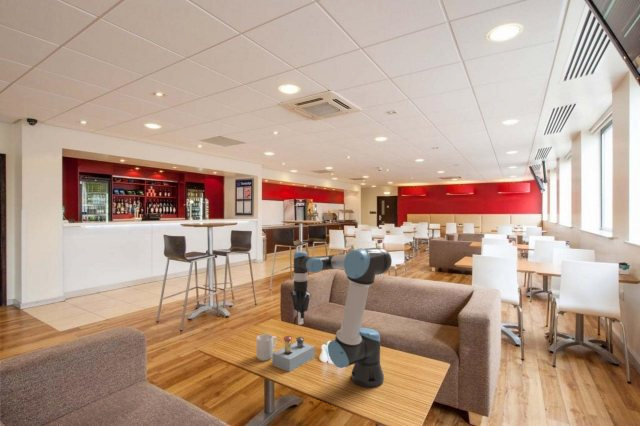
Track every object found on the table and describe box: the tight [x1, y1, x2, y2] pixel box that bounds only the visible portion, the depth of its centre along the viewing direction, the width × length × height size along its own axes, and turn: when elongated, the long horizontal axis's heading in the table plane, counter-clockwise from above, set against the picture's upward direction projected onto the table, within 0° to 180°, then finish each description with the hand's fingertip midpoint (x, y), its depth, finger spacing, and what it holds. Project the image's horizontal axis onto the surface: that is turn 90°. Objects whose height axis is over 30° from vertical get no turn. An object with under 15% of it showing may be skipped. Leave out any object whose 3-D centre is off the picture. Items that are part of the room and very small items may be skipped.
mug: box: [256, 333, 278, 362], centre depth 174 cm, size 12×9×11 cm
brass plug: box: [283, 335, 292, 355], centre depth 165 cm, size 4×4×9 cm
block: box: [271, 341, 315, 372], centre depth 169 cm, size 12×20×6 cm, turn 144°
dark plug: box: [295, 336, 305, 349], centre depth 173 cm, size 4×4×9 cm
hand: (300, 323), depth 173 cm, fingers closed
